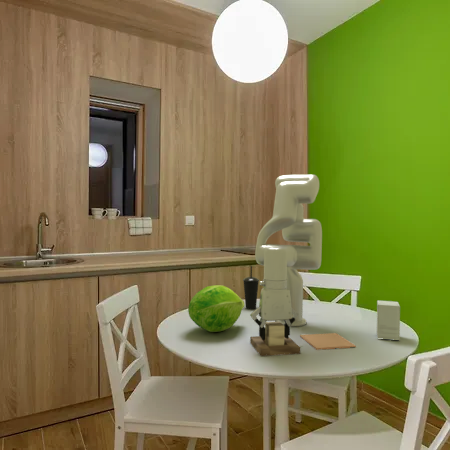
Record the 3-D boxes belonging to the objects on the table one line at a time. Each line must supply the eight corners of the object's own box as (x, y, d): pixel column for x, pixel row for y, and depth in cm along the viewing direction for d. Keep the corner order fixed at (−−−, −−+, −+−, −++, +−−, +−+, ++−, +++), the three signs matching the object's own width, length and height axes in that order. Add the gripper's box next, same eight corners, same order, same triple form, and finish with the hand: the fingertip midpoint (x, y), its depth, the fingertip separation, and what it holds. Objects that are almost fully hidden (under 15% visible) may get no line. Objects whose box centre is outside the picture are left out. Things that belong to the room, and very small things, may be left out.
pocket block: (250, 342, 133) (250, 336, 132) (286, 340, 135) (286, 334, 135) (260, 356, 120) (260, 349, 120) (300, 353, 122) (300, 347, 122)
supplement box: (397, 335, 142) (398, 301, 141) (399, 341, 135) (400, 305, 134) (376, 333, 144) (377, 299, 144) (376, 339, 137) (377, 304, 137)
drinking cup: (240, 306, 184) (240, 265, 184) (255, 305, 186) (255, 264, 186) (245, 310, 177) (246, 267, 176) (261, 309, 179) (261, 266, 179)
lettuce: (259, 330, 146) (260, 285, 146) (204, 343, 131) (205, 293, 131) (229, 319, 161) (229, 279, 161) (176, 330, 146) (177, 285, 145)
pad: (300, 336, 140) (300, 334, 140) (336, 334, 142) (336, 333, 142) (316, 349, 126) (316, 348, 126) (355, 347, 128) (355, 345, 128)
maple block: (264, 345, 129) (265, 322, 129) (279, 345, 130) (279, 321, 130) (269, 351, 124) (269, 326, 124) (284, 350, 125) (284, 325, 125)
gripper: (252, 287, 122) (251, 343, 122) (304, 286, 125) (303, 340, 125) (246, 283, 129) (246, 335, 129) (296, 282, 132) (295, 333, 133)
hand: (274, 337), depth 127 cm, fingers open, 7 cm apart
